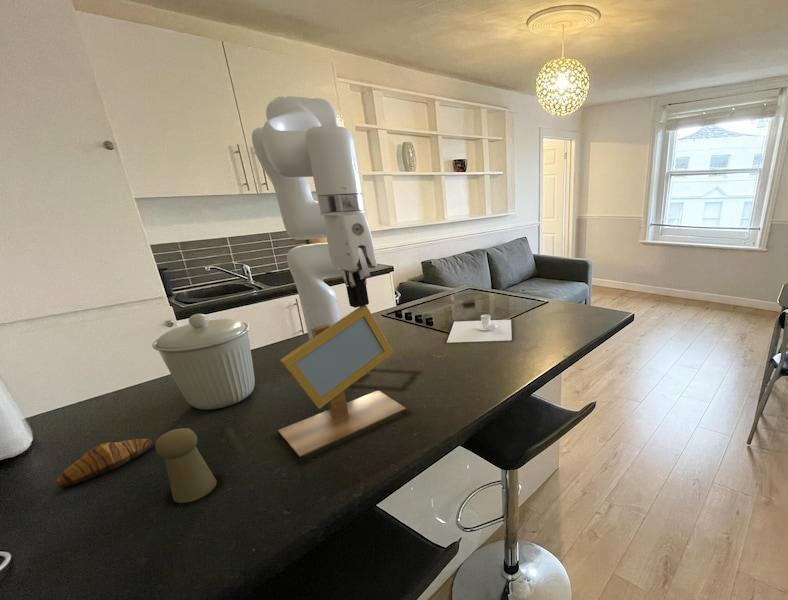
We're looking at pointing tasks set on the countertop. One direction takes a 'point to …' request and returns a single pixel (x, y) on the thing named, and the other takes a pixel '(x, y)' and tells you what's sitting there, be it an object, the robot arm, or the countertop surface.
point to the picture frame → (338, 356)
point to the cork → (185, 465)
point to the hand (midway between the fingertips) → (359, 305)
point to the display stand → (338, 418)
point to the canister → (209, 361)
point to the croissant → (102, 460)
